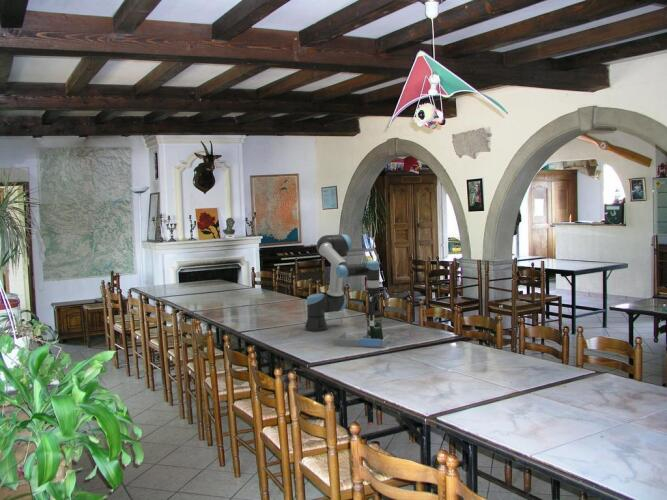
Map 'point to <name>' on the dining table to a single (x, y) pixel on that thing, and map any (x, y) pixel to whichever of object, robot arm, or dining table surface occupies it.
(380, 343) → the divided storage rack
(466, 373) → the dining table surface
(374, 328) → the coffee jar
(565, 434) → the dining table surface
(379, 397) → the dining table surface
